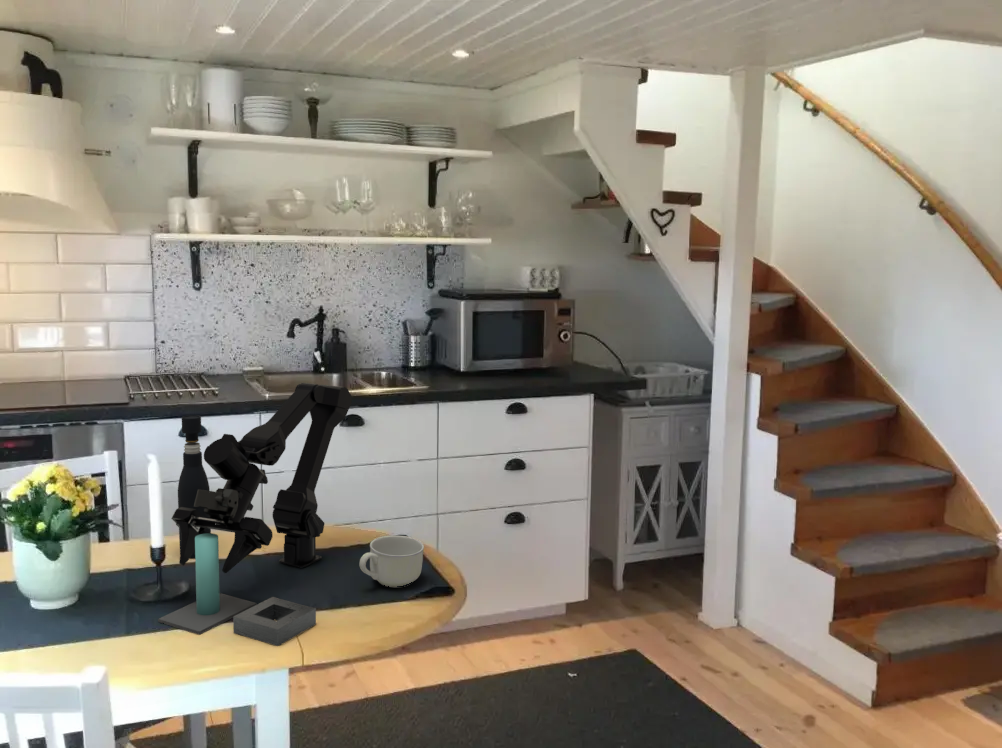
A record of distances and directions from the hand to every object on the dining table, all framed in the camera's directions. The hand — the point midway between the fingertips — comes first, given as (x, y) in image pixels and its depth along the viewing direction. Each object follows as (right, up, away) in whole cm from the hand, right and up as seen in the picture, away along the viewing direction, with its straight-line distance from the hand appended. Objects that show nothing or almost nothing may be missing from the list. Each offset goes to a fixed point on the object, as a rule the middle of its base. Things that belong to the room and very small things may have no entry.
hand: (202, 568), depth 164 cm
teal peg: (0, -8, +2) cm, 9 cm away
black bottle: (-12, -4, +32) cm, 35 cm away
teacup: (+31, -7, +19) cm, 37 cm away
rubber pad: (0, -9, +3) cm, 9 cm away
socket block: (+14, -10, -3) cm, 17 cm away
